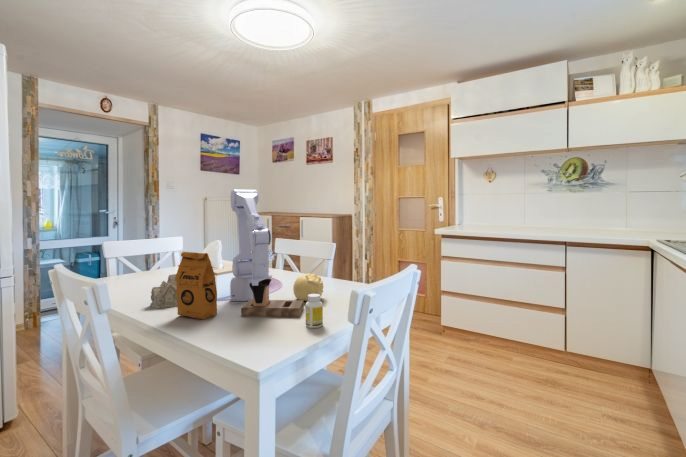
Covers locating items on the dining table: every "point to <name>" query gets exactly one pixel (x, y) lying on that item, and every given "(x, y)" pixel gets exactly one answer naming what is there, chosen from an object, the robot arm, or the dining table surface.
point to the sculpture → (307, 286)
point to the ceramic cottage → (165, 294)
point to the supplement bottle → (314, 311)
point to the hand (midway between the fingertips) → (260, 301)
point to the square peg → (265, 298)
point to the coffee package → (196, 286)
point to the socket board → (274, 308)
